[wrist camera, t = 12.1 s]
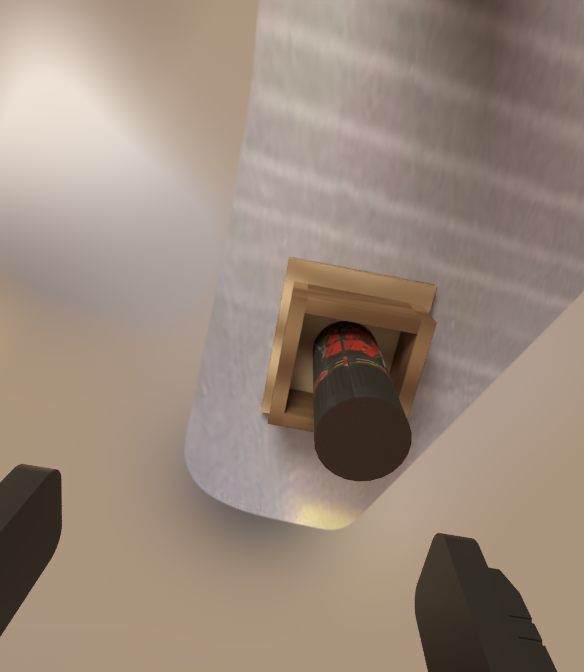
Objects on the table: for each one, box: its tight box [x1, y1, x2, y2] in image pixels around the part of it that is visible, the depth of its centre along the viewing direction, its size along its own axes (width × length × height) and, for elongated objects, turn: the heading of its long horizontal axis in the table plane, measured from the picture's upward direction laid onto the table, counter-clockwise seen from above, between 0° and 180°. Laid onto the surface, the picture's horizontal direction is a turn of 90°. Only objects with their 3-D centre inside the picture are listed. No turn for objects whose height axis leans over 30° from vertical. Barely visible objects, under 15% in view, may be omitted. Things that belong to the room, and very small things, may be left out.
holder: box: [261, 257, 437, 432], centre depth 41 cm, size 15×13×6 cm
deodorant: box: [313, 321, 411, 481], centre depth 36 cm, size 6×6×15 cm
